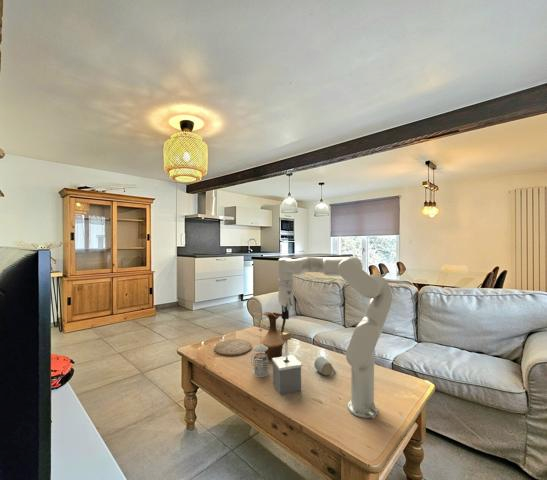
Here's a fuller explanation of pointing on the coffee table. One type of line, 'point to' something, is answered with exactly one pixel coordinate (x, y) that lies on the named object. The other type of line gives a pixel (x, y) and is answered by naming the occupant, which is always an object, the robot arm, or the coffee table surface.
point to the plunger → (286, 343)
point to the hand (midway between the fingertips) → (285, 318)
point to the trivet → (233, 347)
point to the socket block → (286, 374)
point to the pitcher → (273, 337)
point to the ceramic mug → (323, 366)
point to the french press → (260, 361)
